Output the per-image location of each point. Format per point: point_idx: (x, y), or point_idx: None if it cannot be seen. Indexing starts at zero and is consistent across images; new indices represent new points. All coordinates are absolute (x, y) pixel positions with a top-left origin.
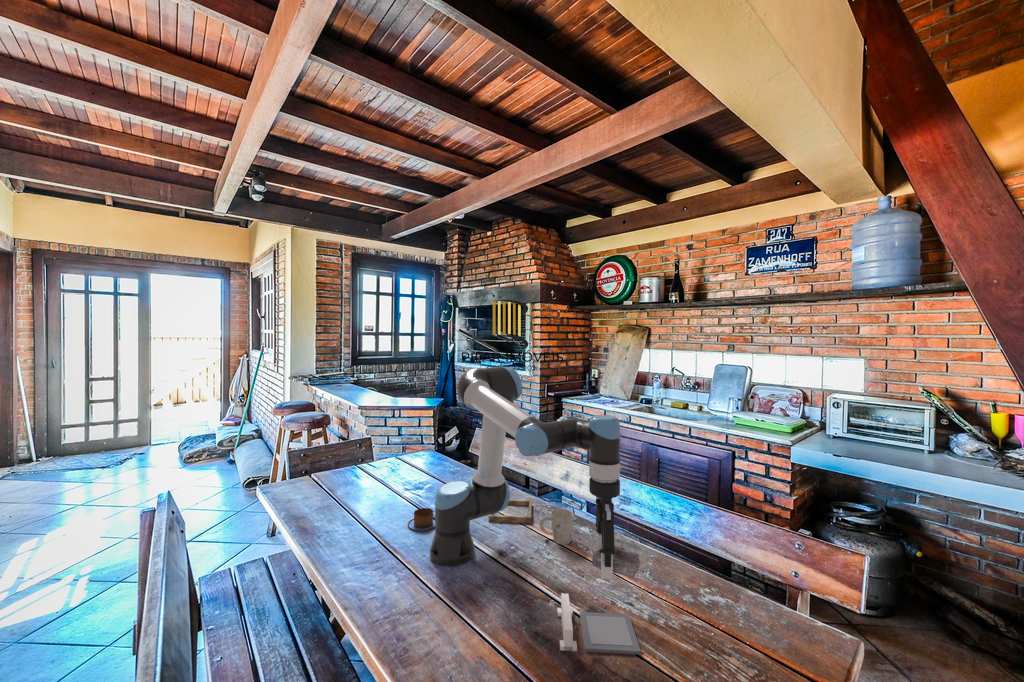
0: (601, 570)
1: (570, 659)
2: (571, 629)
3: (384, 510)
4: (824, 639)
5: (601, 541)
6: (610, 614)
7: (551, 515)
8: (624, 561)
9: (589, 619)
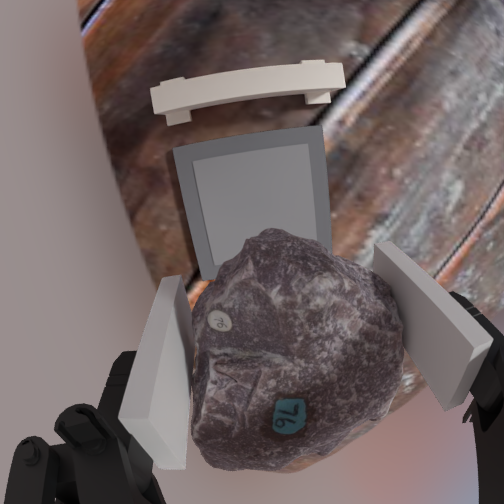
0: (156, 304)
1: (139, 114)
2: (157, 108)
3: None
4: (302, 463)
5: (434, 343)
6: (325, 212)
7: None
8: (200, 448)
9: (292, 153)
